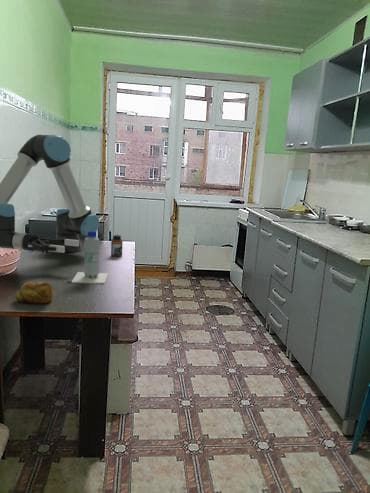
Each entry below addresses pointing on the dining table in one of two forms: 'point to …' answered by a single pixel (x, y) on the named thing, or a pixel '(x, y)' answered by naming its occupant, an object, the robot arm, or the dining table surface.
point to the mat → (81, 278)
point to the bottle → (91, 255)
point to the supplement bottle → (116, 246)
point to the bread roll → (35, 293)
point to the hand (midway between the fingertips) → (71, 246)
